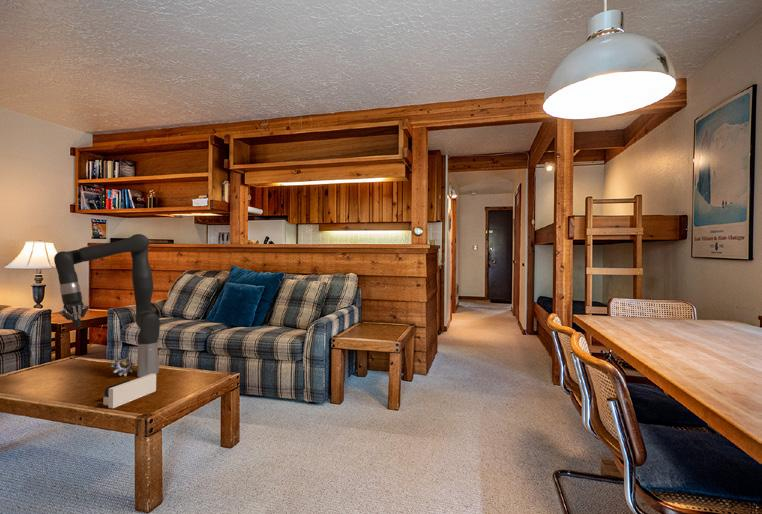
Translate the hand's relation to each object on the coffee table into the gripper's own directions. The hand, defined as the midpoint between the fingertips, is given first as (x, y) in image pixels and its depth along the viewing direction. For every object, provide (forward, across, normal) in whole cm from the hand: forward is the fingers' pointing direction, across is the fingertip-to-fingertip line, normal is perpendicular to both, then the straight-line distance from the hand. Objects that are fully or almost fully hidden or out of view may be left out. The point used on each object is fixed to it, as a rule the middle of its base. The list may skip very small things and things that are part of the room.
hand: (77, 327), depth 187 cm
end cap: (+33, -9, -30) cm, 45 cm away
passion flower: (+31, +17, +1) cm, 35 cm away
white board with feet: (+33, -8, -34) cm, 48 cm away
